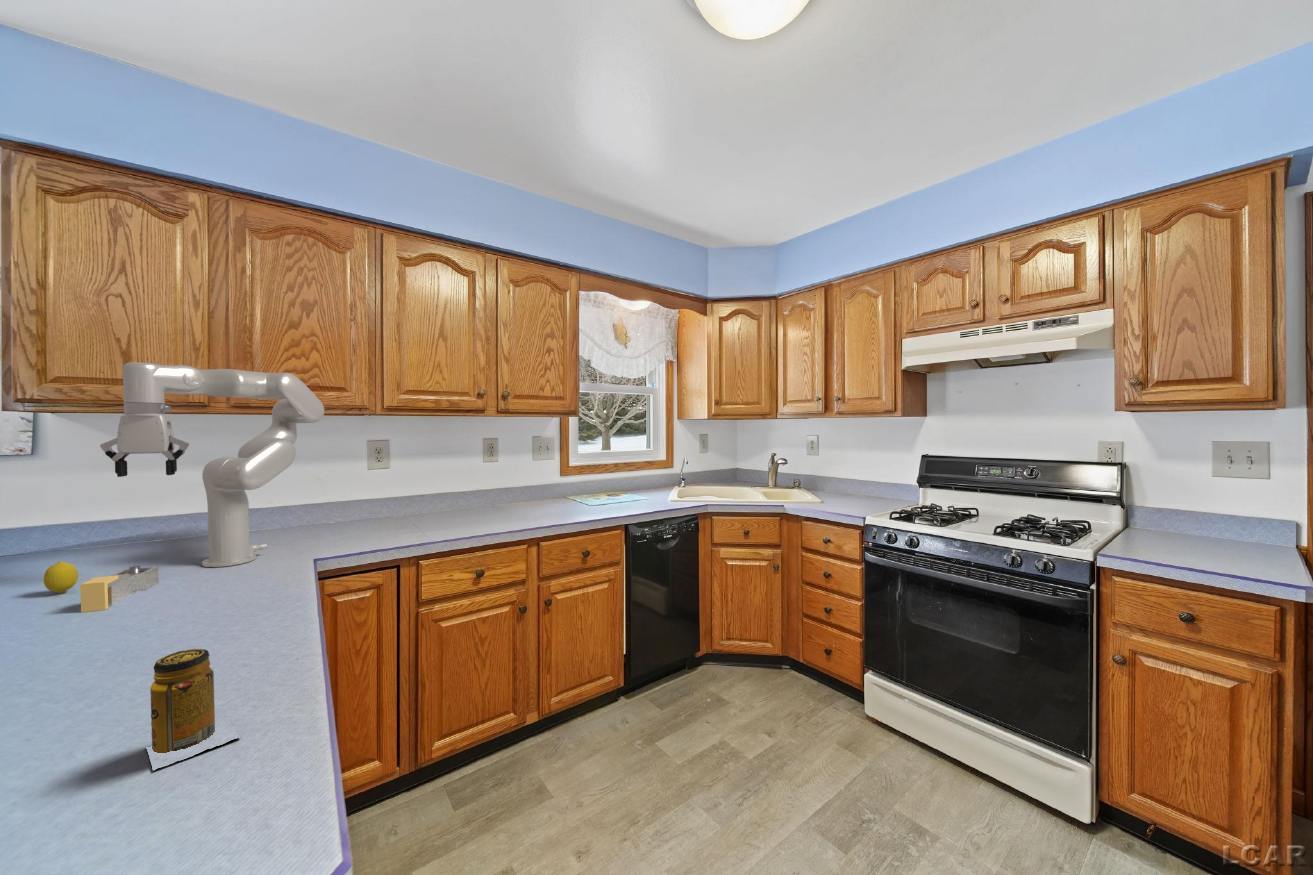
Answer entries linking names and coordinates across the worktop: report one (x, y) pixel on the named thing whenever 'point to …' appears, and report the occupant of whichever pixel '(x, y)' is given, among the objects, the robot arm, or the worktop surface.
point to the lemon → (60, 577)
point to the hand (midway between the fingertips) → (146, 475)
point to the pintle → (134, 569)
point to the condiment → (182, 700)
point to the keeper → (95, 593)
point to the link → (131, 583)
